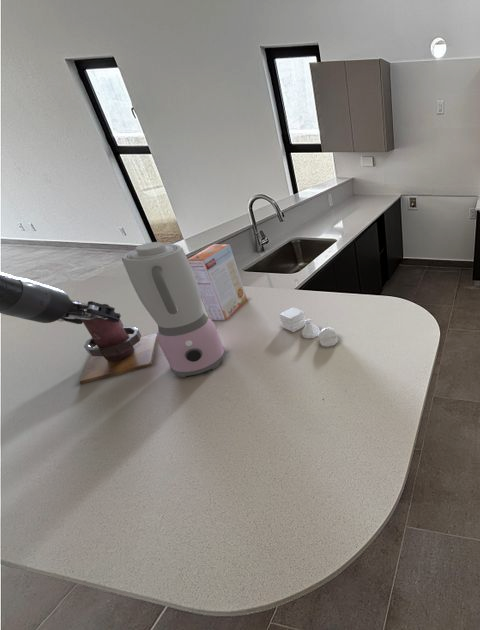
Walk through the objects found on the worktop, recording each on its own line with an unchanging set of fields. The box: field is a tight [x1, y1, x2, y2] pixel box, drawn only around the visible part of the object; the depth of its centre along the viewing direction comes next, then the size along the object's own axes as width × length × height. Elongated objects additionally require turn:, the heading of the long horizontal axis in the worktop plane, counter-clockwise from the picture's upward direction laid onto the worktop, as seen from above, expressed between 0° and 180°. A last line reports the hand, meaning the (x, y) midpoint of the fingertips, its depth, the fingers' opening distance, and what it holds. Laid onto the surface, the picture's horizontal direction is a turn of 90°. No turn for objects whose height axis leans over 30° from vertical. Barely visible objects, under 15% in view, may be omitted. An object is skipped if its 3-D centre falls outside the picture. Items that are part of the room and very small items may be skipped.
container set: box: [279, 307, 339, 347], centre depth 97 cm, size 20×5×6 cm, turn 57°
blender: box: [121, 241, 227, 378], centre depth 77 cm, size 16×12×32 cm
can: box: [81, 303, 134, 361], centre depth 84 cm, size 6×6×14 cm
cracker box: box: [187, 243, 248, 321], centre depth 105 cm, size 14×6×21 cm, turn 178°
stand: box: [78, 312, 158, 385], centre depth 86 cm, size 14×16×10 cm
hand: (99, 319), depth 82 cm, fingers open, 8 cm apart
